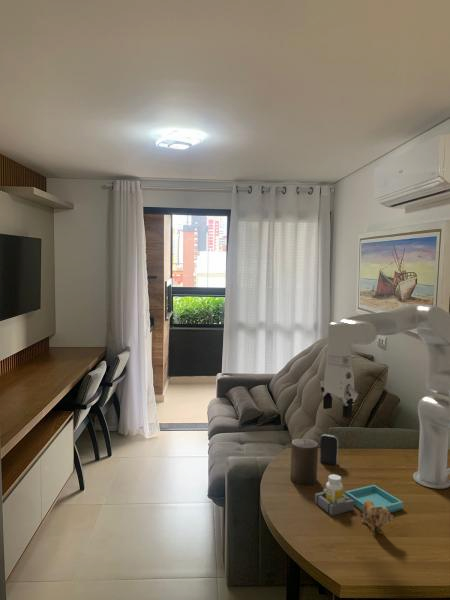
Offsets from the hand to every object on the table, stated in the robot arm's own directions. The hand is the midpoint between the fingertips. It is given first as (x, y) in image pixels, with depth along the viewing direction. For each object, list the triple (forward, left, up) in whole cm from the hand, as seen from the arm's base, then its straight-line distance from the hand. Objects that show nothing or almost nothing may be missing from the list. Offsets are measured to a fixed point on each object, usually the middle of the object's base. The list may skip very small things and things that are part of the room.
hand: (337, 412), depth 144 cm
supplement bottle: (0, 0, -31) cm, 31 cm away
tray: (-13, +4, -31) cm, 34 cm away
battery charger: (-20, -28, -31) cm, 47 cm away
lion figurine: (-3, +15, -32) cm, 35 cm away
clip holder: (0, 0, -31) cm, 31 cm away
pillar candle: (-2, -20, -31) cm, 37 cm away
